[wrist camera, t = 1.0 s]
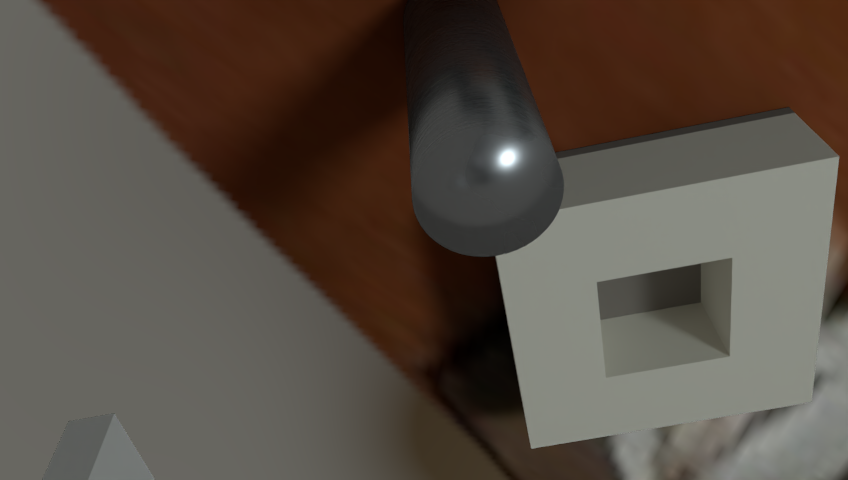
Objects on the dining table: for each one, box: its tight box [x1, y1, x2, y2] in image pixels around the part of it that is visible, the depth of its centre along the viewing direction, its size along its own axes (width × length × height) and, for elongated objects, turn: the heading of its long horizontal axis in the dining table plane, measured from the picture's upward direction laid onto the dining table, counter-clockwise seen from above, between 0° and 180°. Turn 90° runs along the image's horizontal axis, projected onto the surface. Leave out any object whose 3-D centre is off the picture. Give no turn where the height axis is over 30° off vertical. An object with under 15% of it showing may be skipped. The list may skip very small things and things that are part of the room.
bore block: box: [495, 107, 839, 449], centre depth 32 cm, size 12×12×4 cm
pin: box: [403, 0, 564, 257], centre depth 22 cm, size 3×3×12 cm
